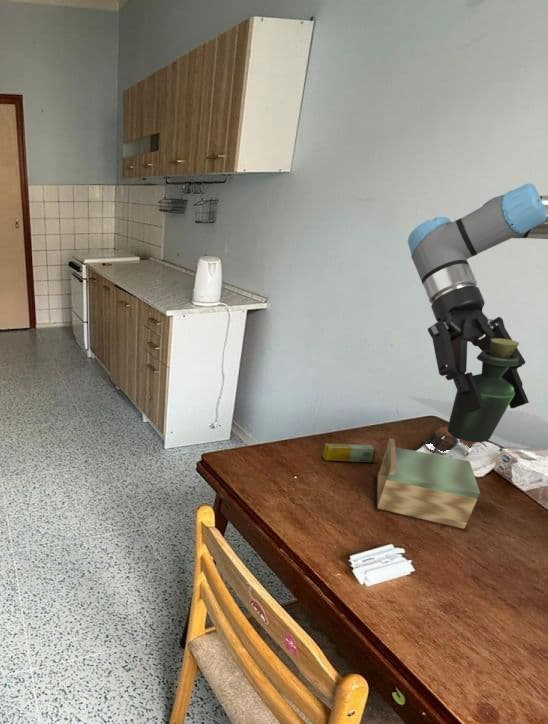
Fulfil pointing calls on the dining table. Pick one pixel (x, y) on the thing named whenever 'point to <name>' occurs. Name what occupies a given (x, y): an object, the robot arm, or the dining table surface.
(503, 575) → the dining table surface
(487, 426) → the potion bottle
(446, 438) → the pottery mug
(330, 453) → the medication box
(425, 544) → the dining table surface
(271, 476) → the dining table surface
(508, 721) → the dining table surface
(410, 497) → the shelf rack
